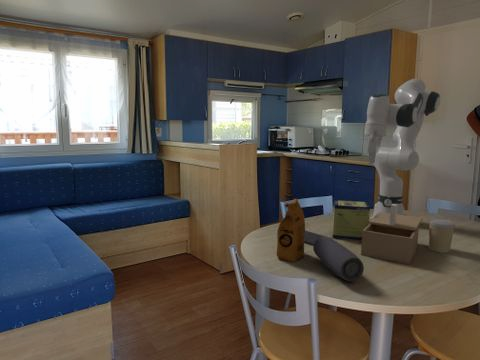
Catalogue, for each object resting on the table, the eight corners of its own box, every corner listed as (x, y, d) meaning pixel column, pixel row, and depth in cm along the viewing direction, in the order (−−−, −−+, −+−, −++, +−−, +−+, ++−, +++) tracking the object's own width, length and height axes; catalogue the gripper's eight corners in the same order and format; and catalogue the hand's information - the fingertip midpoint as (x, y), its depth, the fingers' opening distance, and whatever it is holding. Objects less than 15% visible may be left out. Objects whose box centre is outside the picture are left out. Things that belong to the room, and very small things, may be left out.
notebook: (278, 236, 178) (315, 247, 162) (278, 232, 178) (315, 244, 162) (295, 230, 186) (332, 241, 171) (295, 227, 186) (333, 238, 170)
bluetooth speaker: (364, 283, 126) (366, 254, 125) (338, 286, 125) (340, 256, 123) (333, 259, 148) (335, 234, 147) (311, 260, 146) (312, 235, 145)
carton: (372, 241, 170) (374, 219, 169) (416, 249, 161) (419, 226, 159) (360, 254, 153) (362, 230, 152) (409, 264, 144) (411, 238, 142)
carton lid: (379, 213, 177) (380, 194, 175) (422, 219, 168) (424, 199, 166) (368, 223, 160) (370, 202, 159) (415, 230, 151) (417, 208, 149)
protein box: (368, 241, 171) (370, 206, 168) (332, 238, 174) (334, 204, 172) (365, 234, 181) (367, 201, 179) (331, 231, 184) (333, 199, 182)
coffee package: (272, 258, 148) (273, 202, 144) (284, 249, 159) (286, 196, 155) (296, 263, 143) (298, 206, 140) (307, 253, 154) (310, 199, 150)
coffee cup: (431, 244, 167) (434, 217, 166) (455, 249, 161) (458, 222, 159) (423, 249, 161) (426, 221, 159) (447, 255, 154) (450, 226, 152)
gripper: (382, 131, 156) (377, 165, 158) (383, 132, 175) (380, 163, 177) (365, 130, 158) (362, 163, 160) (369, 132, 177) (365, 161, 179)
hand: (371, 163), depth 169 cm, fingers open, 8 cm apart
